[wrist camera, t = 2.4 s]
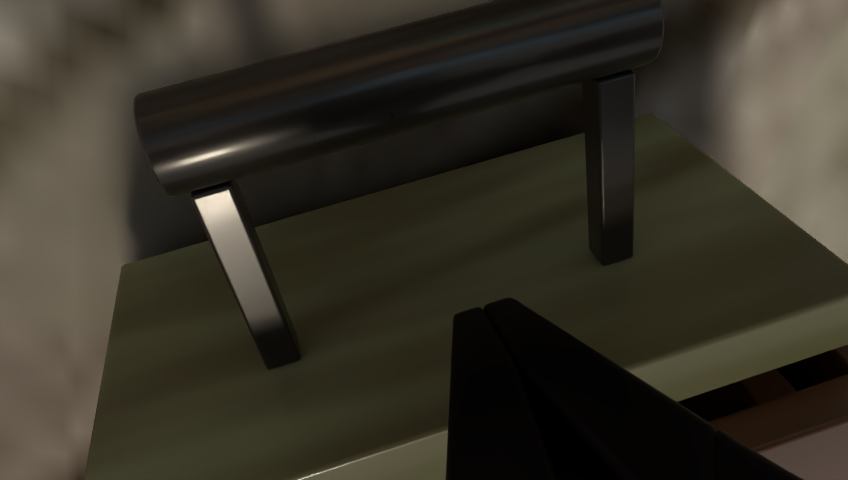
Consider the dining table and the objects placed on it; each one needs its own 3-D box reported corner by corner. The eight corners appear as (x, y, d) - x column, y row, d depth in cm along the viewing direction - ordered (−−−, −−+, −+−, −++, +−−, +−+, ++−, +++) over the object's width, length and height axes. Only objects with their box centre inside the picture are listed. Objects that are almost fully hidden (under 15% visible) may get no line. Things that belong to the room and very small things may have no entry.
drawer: (-2, 45, 12) (-182, 278, 6) (659, -120, 13) (976, -42, 8) (292, 571, 22) (318, 827, 17) (643, 451, 24) (772, 653, 18)
